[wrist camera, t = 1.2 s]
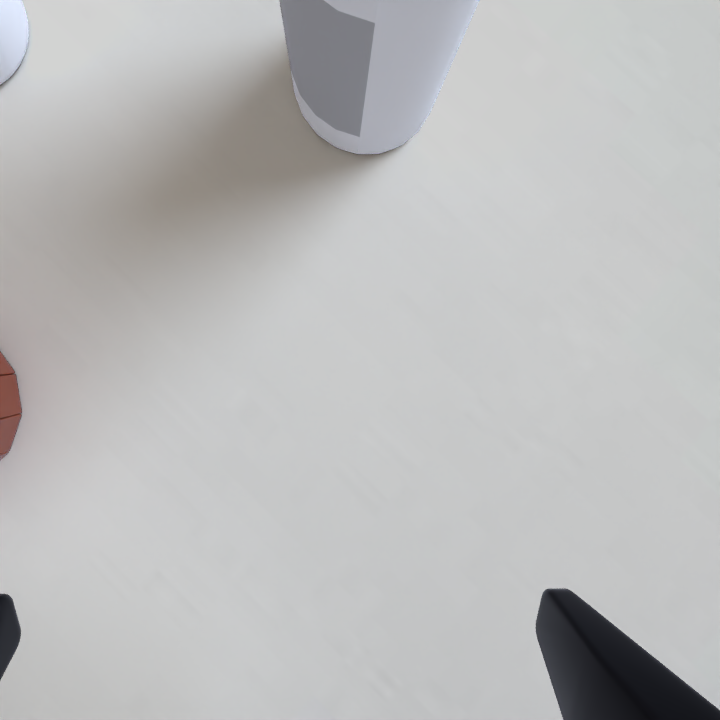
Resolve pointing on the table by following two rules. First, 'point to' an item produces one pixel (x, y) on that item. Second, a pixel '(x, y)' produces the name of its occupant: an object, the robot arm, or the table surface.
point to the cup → (8, 406)
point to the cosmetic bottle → (12, 36)
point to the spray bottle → (371, 65)
